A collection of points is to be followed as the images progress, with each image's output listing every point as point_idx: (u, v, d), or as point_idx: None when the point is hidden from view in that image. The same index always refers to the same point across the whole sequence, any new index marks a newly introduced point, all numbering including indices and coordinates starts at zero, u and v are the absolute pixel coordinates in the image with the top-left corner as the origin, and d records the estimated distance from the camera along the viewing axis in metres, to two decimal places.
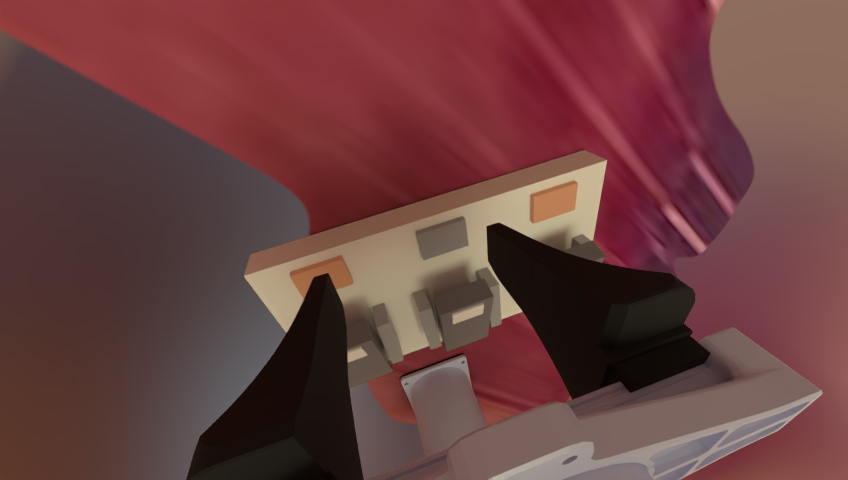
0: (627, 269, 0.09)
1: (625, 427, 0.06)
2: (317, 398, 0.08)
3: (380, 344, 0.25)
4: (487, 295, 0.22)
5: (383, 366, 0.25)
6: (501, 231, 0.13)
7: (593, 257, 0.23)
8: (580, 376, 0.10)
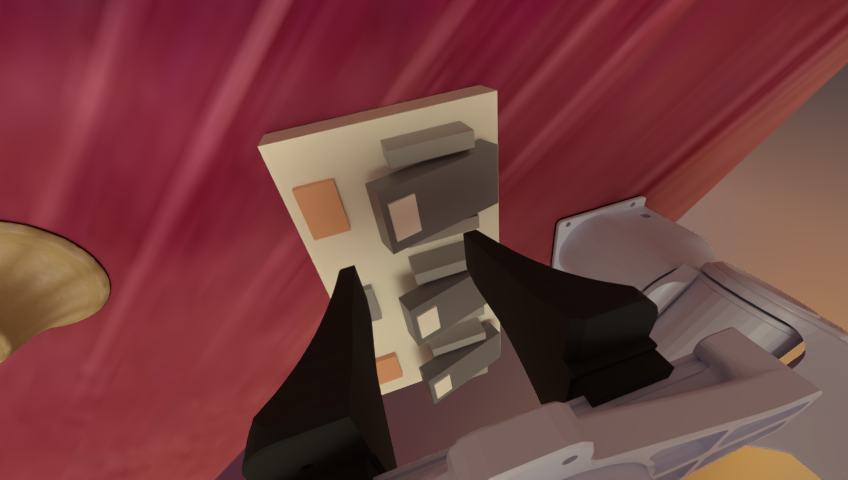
0: (593, 280, 0.09)
1: (625, 427, 0.06)
2: (359, 383, 0.08)
3: None
4: (408, 313, 0.21)
5: (482, 347, 0.28)
6: (476, 238, 0.12)
7: (378, 206, 0.16)
8: (549, 388, 0.10)
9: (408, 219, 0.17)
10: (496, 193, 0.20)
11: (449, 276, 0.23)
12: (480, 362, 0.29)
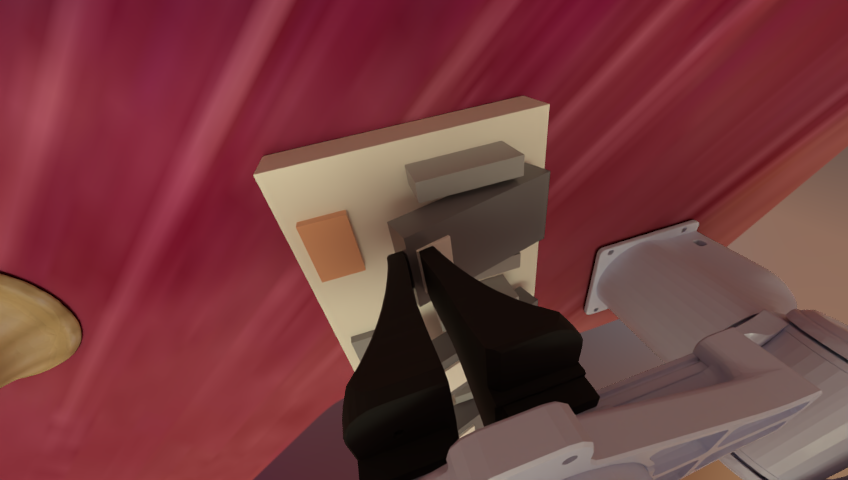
0: (524, 304, 0.08)
1: (625, 427, 0.06)
2: None
3: None
4: None
5: None
6: (426, 253, 0.12)
7: (404, 252, 0.13)
8: (485, 412, 0.09)
9: None
10: (543, 227, 0.17)
11: None
12: None
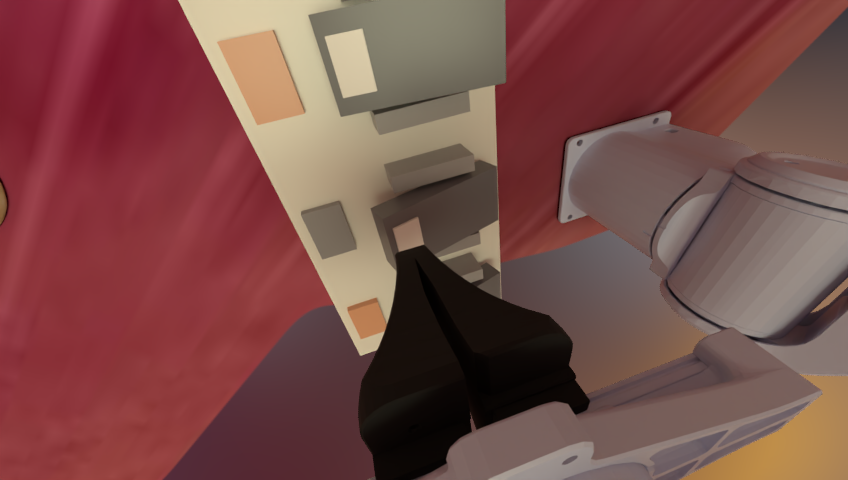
0: (514, 307, 0.08)
1: (625, 427, 0.06)
2: None
3: None
4: (382, 223, 0.17)
5: None
6: (419, 255, 0.12)
7: (317, 40, 0.13)
8: (476, 415, 0.09)
9: (355, 67, 0.13)
10: (503, 65, 0.14)
11: (434, 185, 0.18)
12: None
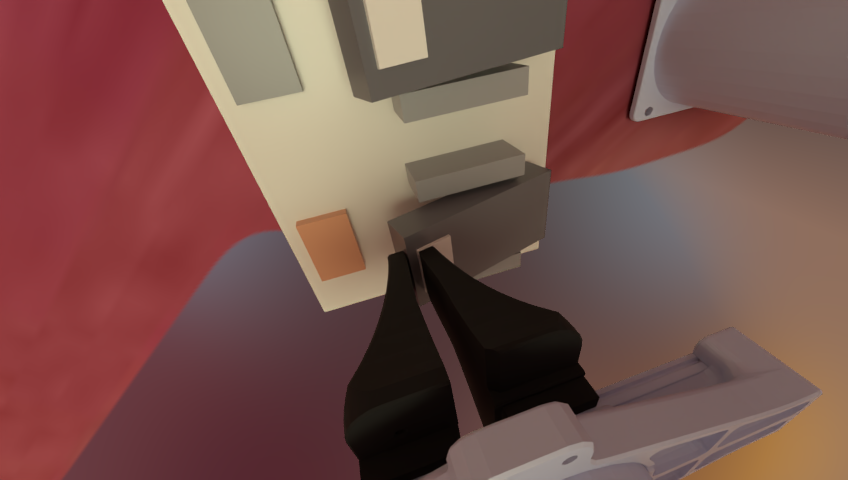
0: (523, 304, 0.08)
1: (625, 427, 0.06)
2: None
3: (469, 191, 0.14)
4: None
5: (516, 194, 0.14)
6: (426, 254, 0.12)
7: None
8: (484, 412, 0.09)
9: None
10: None
11: None
12: (510, 234, 0.15)
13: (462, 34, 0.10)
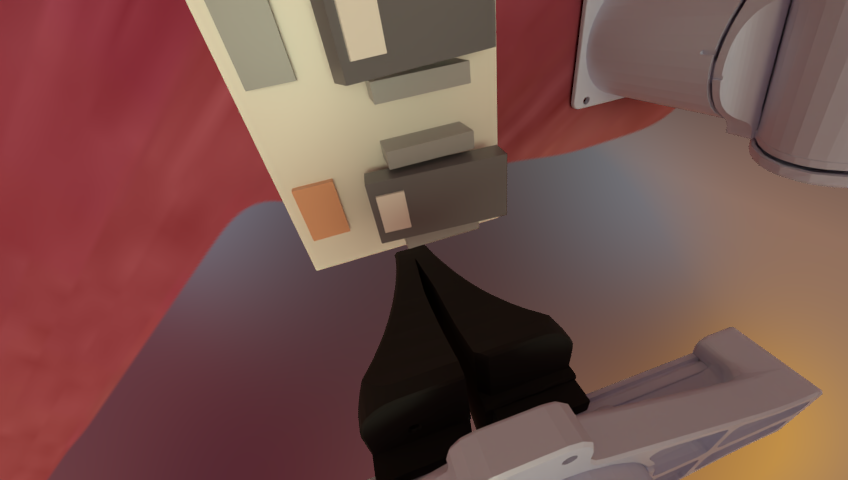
0: (514, 307, 0.08)
1: (625, 427, 0.06)
2: None
3: (433, 161, 0.18)
4: None
5: (469, 169, 0.17)
6: (419, 255, 0.12)
7: None
8: (476, 415, 0.09)
9: None
10: None
11: None
12: (466, 203, 0.18)
13: (412, 36, 0.13)
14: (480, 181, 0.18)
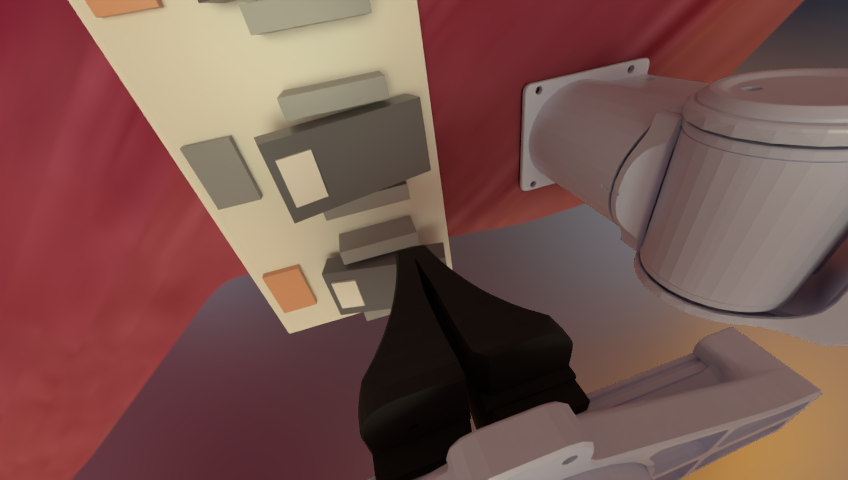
0: (515, 307, 0.08)
1: (625, 427, 0.06)
2: None
3: (384, 254, 0.20)
4: None
5: None
6: (419, 256, 0.12)
7: None
8: (477, 415, 0.09)
9: None
10: None
11: (339, 115, 0.15)
12: None
13: (351, 179, 0.16)
14: None
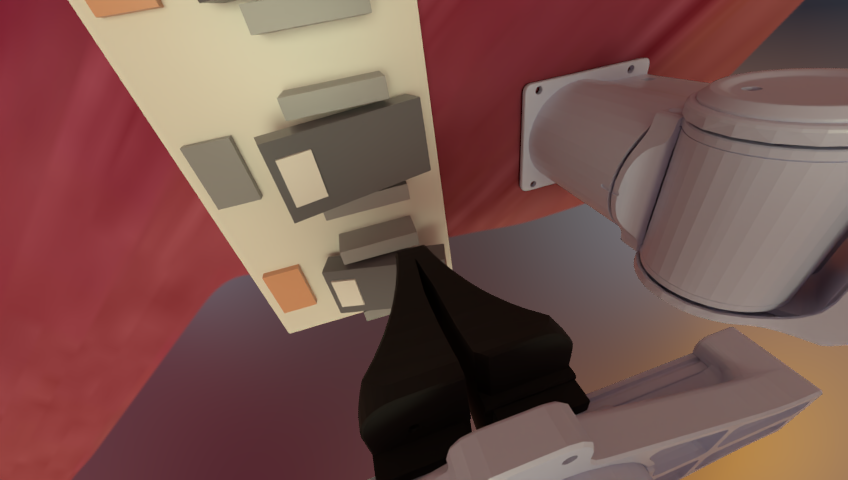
0: (515, 307, 0.08)
1: (625, 427, 0.06)
2: None
3: (384, 254, 0.20)
4: None
5: None
6: (419, 256, 0.12)
7: None
8: (477, 415, 0.09)
9: None
10: None
11: (339, 115, 0.15)
12: None
13: (351, 179, 0.16)
14: None
